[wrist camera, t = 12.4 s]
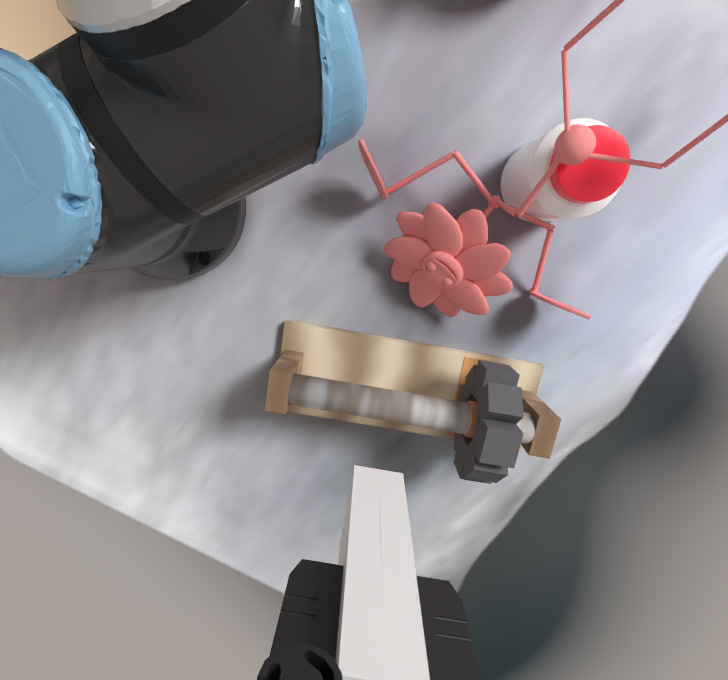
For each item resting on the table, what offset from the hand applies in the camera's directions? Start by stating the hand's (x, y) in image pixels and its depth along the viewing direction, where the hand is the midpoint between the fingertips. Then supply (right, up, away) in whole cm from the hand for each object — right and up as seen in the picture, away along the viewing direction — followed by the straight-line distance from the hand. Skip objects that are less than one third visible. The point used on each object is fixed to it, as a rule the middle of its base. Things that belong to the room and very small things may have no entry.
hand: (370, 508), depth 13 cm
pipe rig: (+4, 0, +35) cm, 35 cm away
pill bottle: (+17, +21, +30) cm, 41 cm away
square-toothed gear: (+11, -1, +34) cm, 36 cm away
